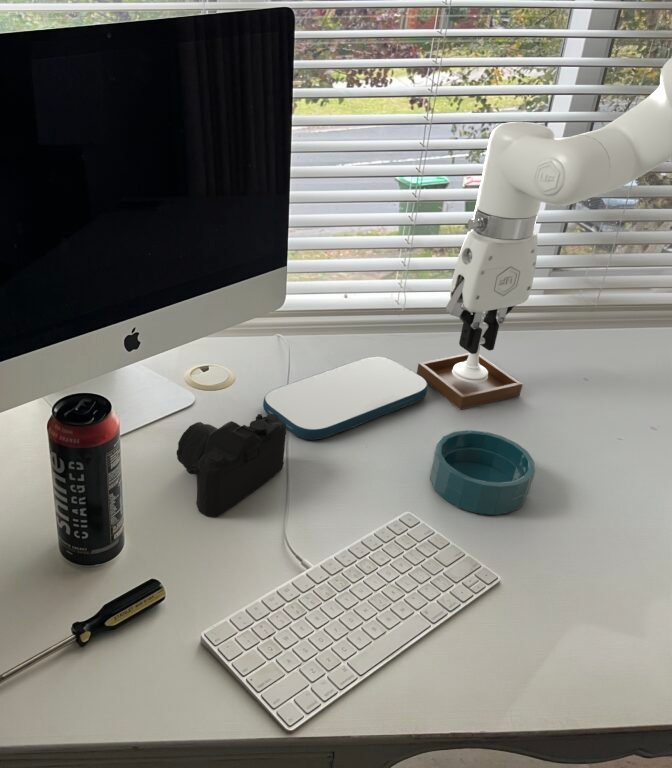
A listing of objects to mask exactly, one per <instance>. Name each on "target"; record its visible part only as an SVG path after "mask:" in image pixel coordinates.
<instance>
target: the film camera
mask: <svg viewBox="0 0 672 768" xmlns="http://www.w3.org/2000/svg"><path fill="white" fill-rule="evenodd" d="M286 436H287V429H286V424H285V422H284V421H282V420H281V419H279V418H278V416H277V415H274V414H269V415H268V414H267V415H266V416H263V414H261V413H258V414H257V415H256V416H255V420H252V421H250V423H249V425H245V424H243V425H240V424H238V423H237V422H234V421H232V420H231V421H228V422H226V423H224V424H223V425H221V426H220V427H219V428H217V427H215V426H213V425H211V424H209V423H204V422H201V421H197V422H195V423H193V424H191V425H189V426H188V428H186V430H185V431H184V432H183V433H182V434H181V436H180V438H179V441H178V442H177V446H178V447H177V450H176V456H177V457H176V458H177V461H178V462H179V463H180V464H181V465H182V466H183V467H184V468H185V471H186V472H187V473H188V474H189V475H196V502H195V504H196V507H197V510H198V512H199V513H200V514H202V515H204V516H206V517H210V518H216V517H219V516H221V515H222V514H225V512H227V511H229V510H231V509H232V508H234V507H235V506H236V505H238V504H239V503H240V502H241V501H243V500H244V499H246V498H247V497H248V496H250V495H252V494H253V493H254V492H256V491H257V490H258V489H260V488H261V487H262V486H264V485H265V484H267V483H268V482H269V481H270V480H272V478H274V477H276V475H278V474H279V473H280V472H281V471H282V470H283V468H284V463H285V462H284V458H285V450H286V448H285V447H286V439H287V437H286Z"/></svg>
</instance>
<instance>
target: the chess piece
mask: <svg viewBox="0 0 672 768" xmlns="http://www.w3.org/2000/svg"><path fill="white" fill-rule="evenodd" d="M484 317H485V311H484V312H483V314H482V318H481V322H480V326H479V327H480V328H481V329H482V333H481V338H480V342H479V347H478V351H477V353H475V354H471V353H470V352H468V353H469V356H468V358H467V361H465V362H460V363H457V364H456V365H454V367H453V370H452V374H453V375H454V376H455V377H456V378H458V379H460V380H462V381H465V382H470V383H480V382H484V381H486V380H487V379H488V371H487V369H486V368H485V367H483V366H481V365H480V364H479V354H480V350H481V345H480V344H484V343H485V339H484V338H483V337H482V336H483V335H484V333H485V331H486V330H487V328H488V324H487V323H485V322H483V321H484Z"/></svg>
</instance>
